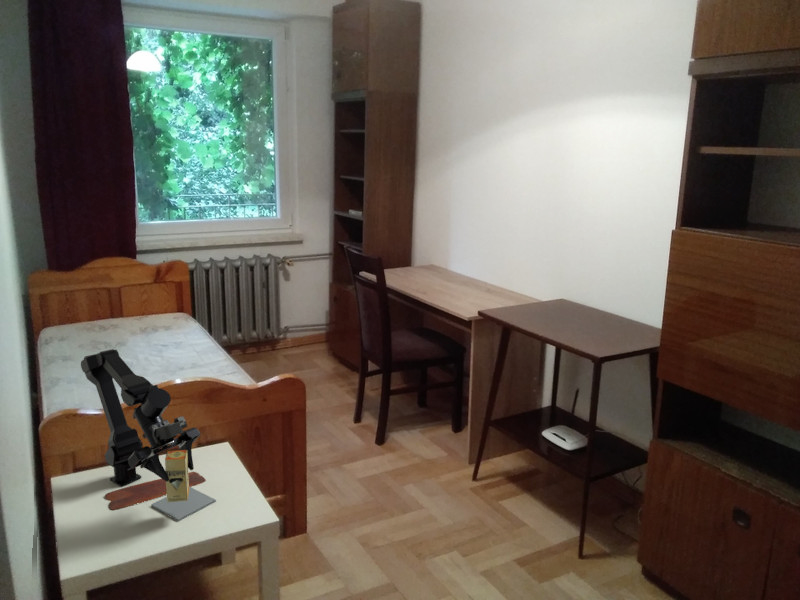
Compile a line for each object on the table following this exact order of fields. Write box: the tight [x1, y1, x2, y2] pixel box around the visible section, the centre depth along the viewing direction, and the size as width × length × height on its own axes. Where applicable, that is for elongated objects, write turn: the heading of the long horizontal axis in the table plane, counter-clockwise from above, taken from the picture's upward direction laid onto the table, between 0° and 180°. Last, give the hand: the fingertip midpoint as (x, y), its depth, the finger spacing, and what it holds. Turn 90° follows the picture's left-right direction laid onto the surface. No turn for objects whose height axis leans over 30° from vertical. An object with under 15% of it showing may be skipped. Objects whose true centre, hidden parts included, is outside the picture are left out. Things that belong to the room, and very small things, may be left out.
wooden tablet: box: [104, 471, 207, 511], centre depth 180 cm, size 27×10×2 cm, turn 126°
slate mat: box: [150, 487, 217, 522], centre depth 172 cm, size 12×12×1 cm
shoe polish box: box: [164, 449, 189, 502], centre depth 164 cm, size 5×5×12 cm
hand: (180, 475), depth 163 cm, fingers closed on shoe polish box, 7 cm apart
